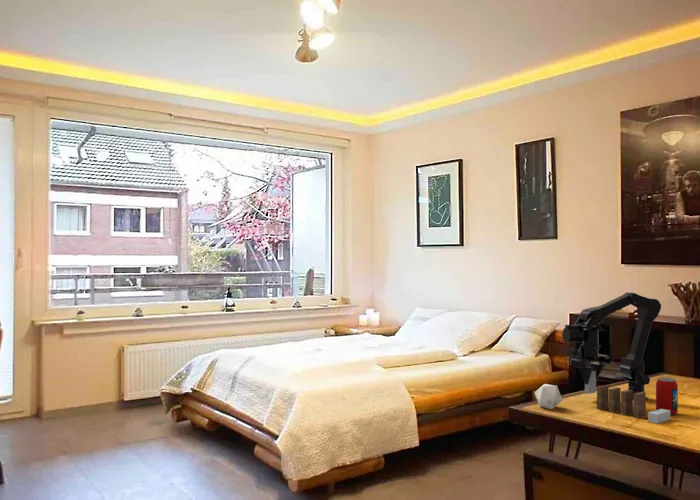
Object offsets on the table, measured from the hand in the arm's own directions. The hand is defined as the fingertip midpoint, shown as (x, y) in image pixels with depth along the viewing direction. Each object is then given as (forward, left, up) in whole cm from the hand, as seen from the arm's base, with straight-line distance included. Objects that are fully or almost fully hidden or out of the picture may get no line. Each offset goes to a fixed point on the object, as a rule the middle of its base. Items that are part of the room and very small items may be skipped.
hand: (590, 383), depth 233 cm
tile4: (+9, +24, -6) cm, 26 cm away
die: (+23, -3, -7) cm, 24 cm away
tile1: (+9, +10, -6) cm, 15 cm away
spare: (0, 0, -4) cm, 4 cm away
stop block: (+9, +30, -6) cm, 32 cm away
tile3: (+9, +19, -6) cm, 22 cm away
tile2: (+9, +15, -6) cm, 18 cm away
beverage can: (-3, +27, -7) cm, 28 cm away
